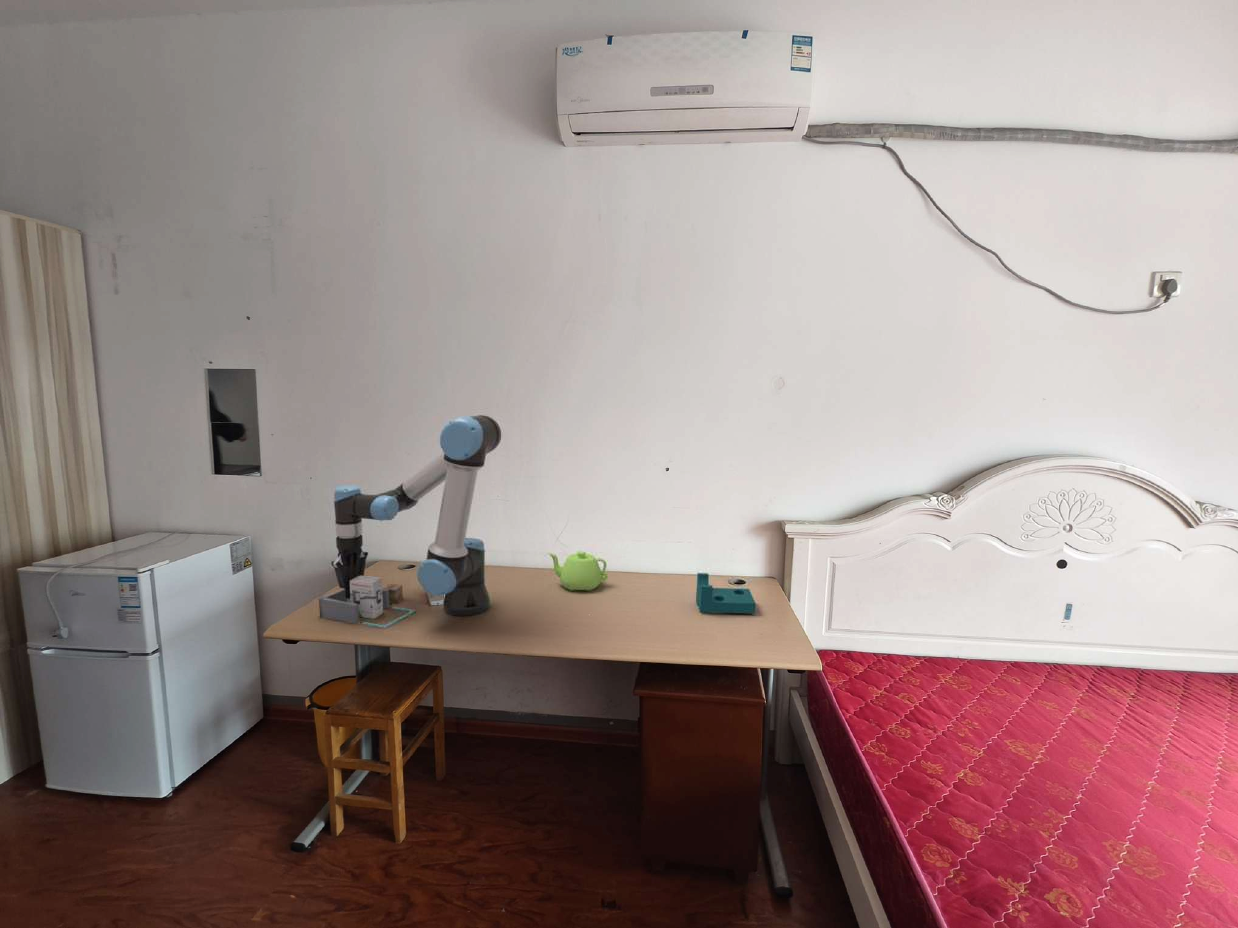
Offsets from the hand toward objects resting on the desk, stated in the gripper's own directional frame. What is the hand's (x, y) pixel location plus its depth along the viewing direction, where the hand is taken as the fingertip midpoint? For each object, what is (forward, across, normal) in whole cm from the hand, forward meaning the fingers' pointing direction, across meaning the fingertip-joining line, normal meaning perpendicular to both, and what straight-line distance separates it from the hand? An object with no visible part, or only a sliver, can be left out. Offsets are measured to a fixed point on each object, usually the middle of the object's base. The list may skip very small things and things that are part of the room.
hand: (352, 606), depth 182 cm
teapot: (+2, -49, +57) cm, 75 cm away
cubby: (+2, 0, +1) cm, 2 cm away
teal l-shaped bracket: (+2, -49, +111) cm, 122 cm away
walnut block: (+2, -12, +5) cm, 13 cm away
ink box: (+2, 0, +6) cm, 6 cm away
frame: (+2, 0, +14) cm, 14 cm away
